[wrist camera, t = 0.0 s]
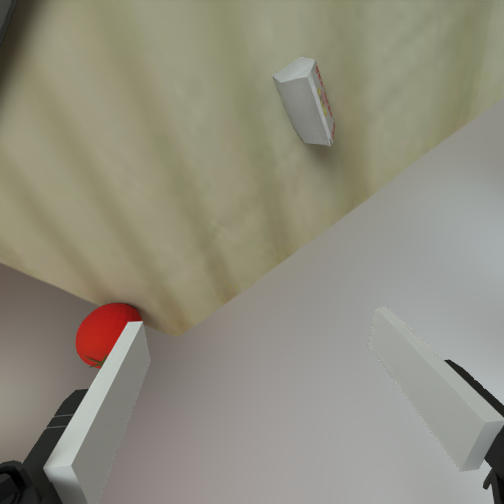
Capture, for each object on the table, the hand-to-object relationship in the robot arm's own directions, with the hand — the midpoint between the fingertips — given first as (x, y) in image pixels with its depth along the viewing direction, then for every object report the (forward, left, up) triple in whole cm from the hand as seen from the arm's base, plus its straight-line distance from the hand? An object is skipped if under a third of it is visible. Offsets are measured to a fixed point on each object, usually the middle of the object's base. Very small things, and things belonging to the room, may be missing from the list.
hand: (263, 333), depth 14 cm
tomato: (+42, +6, -28) cm, 50 cm away
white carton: (-10, 0, -28) cm, 30 cm away
